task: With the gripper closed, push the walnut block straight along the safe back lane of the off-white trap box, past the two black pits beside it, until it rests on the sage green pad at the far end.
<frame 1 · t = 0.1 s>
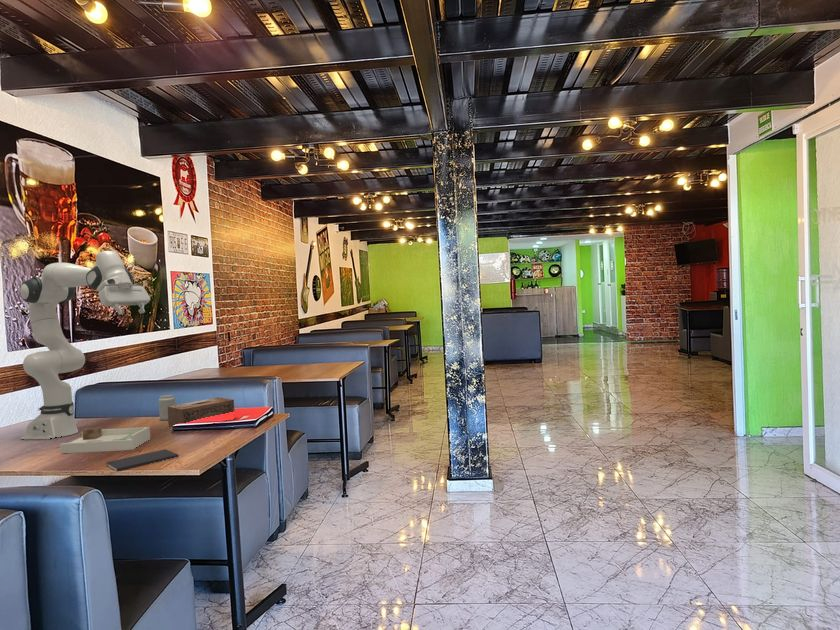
hand: (132, 313, 234), 54 cm above the table, tool tilted 30°, fingers open, 8 cm apart
trap box: (107, 446, 234), on the table
can: (168, 419, 284), on the table
walnut block: (92, 437, 237), point 3 cm above the table, touching trap box
notebook: (142, 463, 209), on the table
tissue box cover: (202, 424, 271), on the table
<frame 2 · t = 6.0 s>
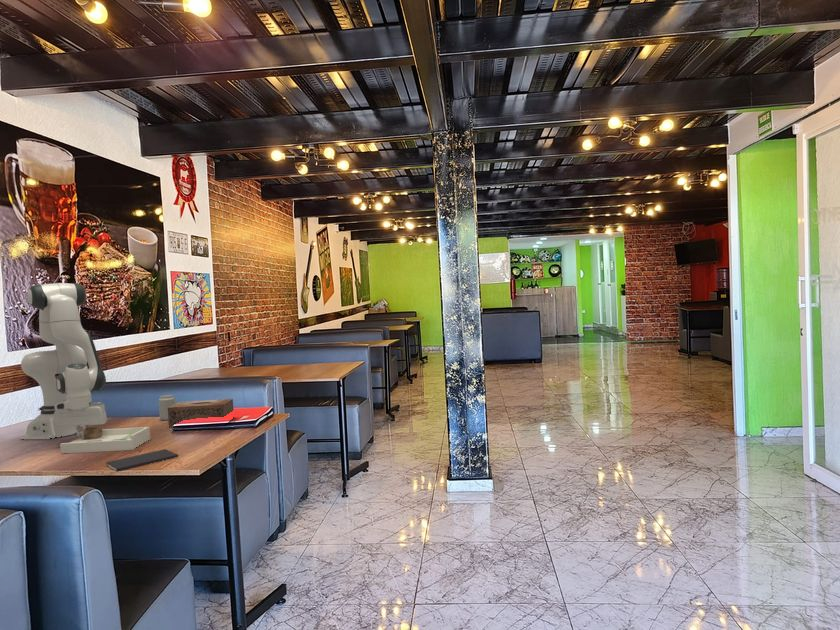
hand: (81, 435, 237), 4 cm above the table, tool pointing down, fingers closed
walnut block: (93, 437, 237), point 3 cm above the table, touching gripper, trap box
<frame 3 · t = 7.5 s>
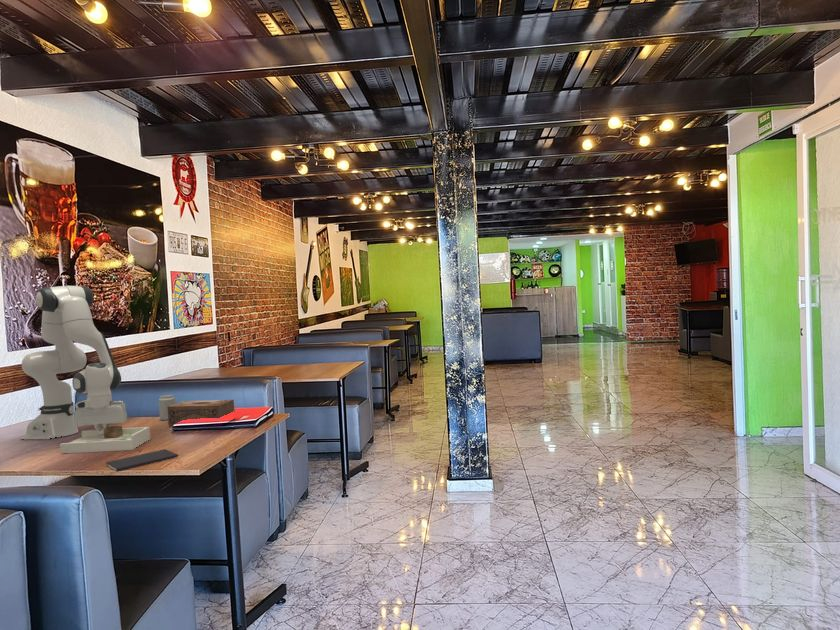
hand: (102, 434, 237), 4 cm above the table, tool pointing down, fingers closed
walnut block: (113, 436, 238), point 3 cm above the table, touching gripper
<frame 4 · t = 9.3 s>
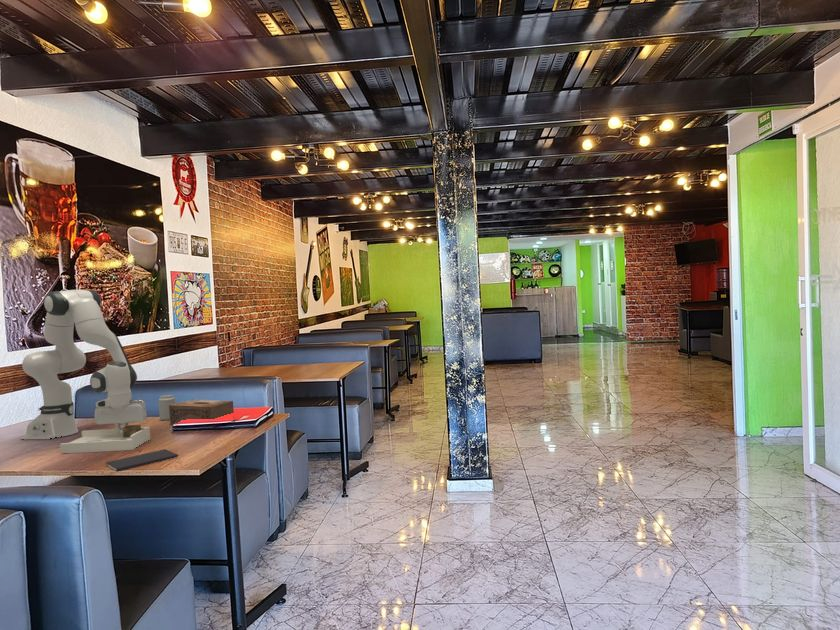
hand: (122, 433, 237), 4 cm above the table, tool pointing down, fingers closed
walnut block: (132, 435, 238), point 3 cm above the table, touching gripper, trap box
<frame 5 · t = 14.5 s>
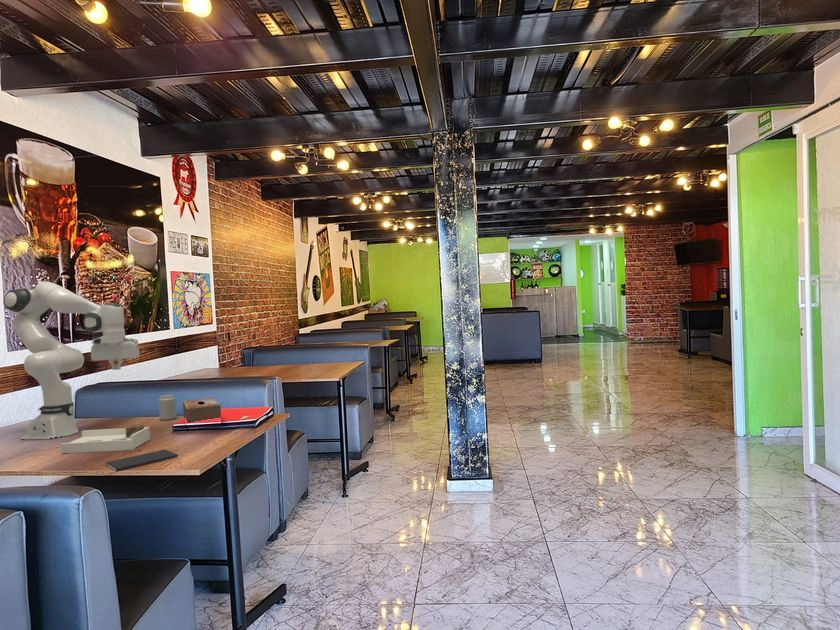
hand: (116, 369, 256), 29 cm above the table, tool pointing down, fingers closed
walnut block: (135, 435, 238), point 3 cm above the table, touching trap box
at the end: walnut block 0.0 cm from the target spot on the trap box, point 3.0 cm above the trap box's base; walnut block tilted 0° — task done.
